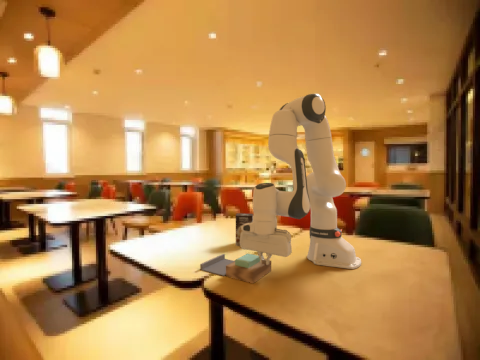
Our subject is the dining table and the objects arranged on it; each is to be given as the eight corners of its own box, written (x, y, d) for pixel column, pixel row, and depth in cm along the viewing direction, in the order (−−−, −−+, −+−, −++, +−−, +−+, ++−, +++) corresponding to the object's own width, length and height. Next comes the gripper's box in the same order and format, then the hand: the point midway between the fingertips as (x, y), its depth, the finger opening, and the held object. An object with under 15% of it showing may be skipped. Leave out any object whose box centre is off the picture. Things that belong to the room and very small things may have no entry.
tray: (245, 264, 117) (245, 258, 116) (224, 276, 104) (224, 270, 104) (223, 259, 123) (222, 253, 123) (200, 269, 111) (200, 264, 111)
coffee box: (235, 246, 143) (234, 215, 143) (236, 242, 150) (236, 213, 149) (252, 246, 142) (252, 215, 142) (253, 242, 149) (253, 213, 148)
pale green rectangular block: (260, 261, 109) (260, 256, 109) (248, 268, 101) (248, 262, 101) (247, 258, 112) (247, 253, 112) (235, 265, 105) (234, 259, 105)
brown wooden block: (271, 270, 109) (271, 260, 109) (253, 283, 98) (252, 272, 97) (245, 264, 116) (245, 255, 116) (225, 276, 104) (225, 265, 104)
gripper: (294, 228, 99) (294, 266, 99) (246, 222, 110) (246, 256, 111) (287, 232, 93) (287, 272, 94) (237, 225, 105) (237, 261, 106)
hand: (264, 263), depth 103 cm, fingers closed
